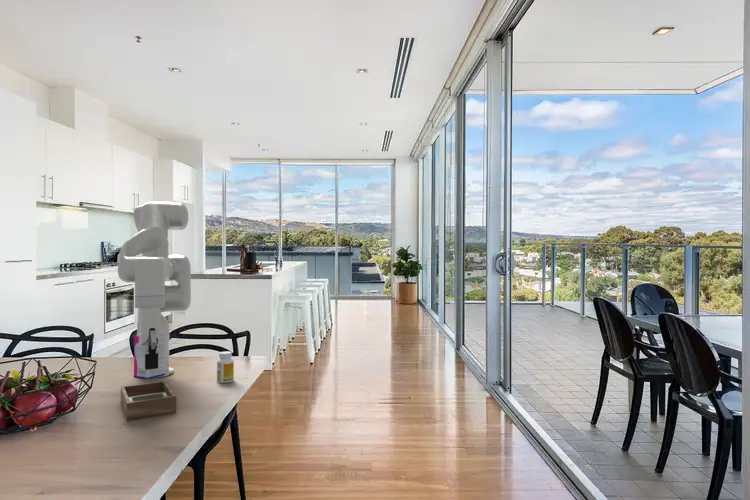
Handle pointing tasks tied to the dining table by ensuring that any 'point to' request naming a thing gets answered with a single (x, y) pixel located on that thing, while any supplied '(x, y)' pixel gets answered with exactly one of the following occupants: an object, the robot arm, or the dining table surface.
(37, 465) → the dining table surface
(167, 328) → the robot arm
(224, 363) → the supplement bottle
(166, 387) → the walnut box
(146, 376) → the supplement box
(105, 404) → the dining table surface
